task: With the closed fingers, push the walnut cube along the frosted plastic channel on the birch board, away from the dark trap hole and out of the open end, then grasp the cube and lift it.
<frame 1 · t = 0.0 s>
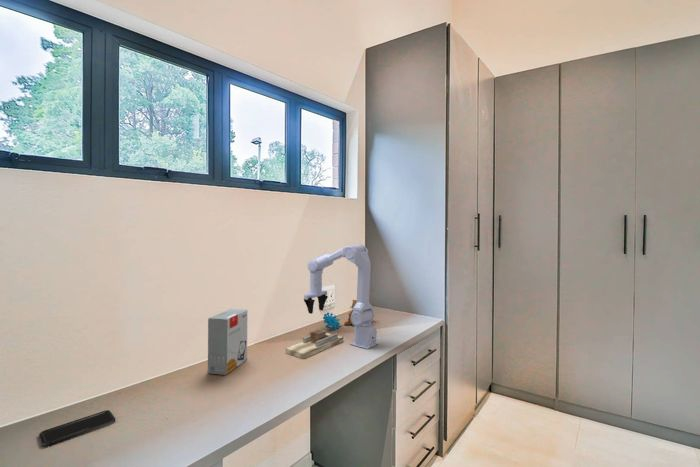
hand: (315, 311, 172), 10 cm above the table, tool pointing down, fingers open, 7 cm apart
walnut cube: (317, 341, 152), point 2 cm above the table, touching channel board
gear: (332, 328, 179), on the table
phone: (78, 430, 91), on the table
channel board: (316, 346, 152), on the table
stuffed squirrel: (357, 324, 186), on the table
hard drive box: (228, 366, 131), on the table
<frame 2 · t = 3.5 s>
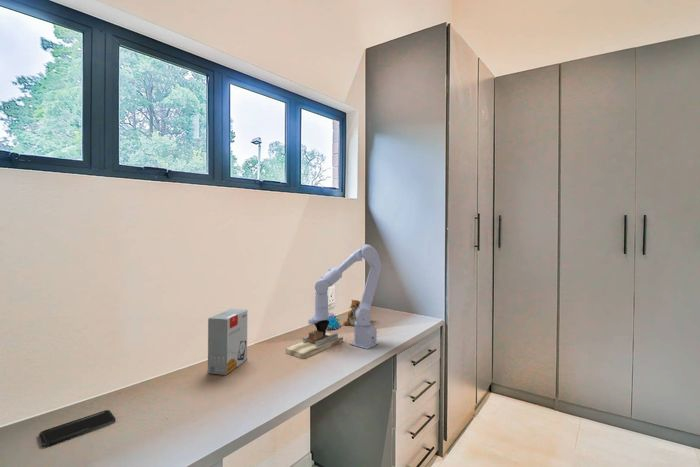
hand: (321, 337, 154), 3 cm above the table, tool pointing down, fingers closed
walnut cube: (315, 342, 152), point 2 cm above the table, touching gripper
everything else where it was.
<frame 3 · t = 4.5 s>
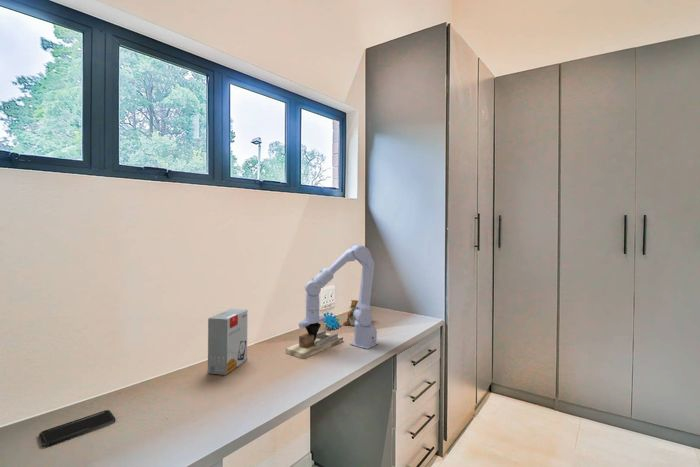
hand: (312, 340, 150), 3 cm above the table, tool pointing down, fingers closed
walnut cube: (306, 346, 147), point 2 cm above the table, touching channel board, gripper
everything else where it was.
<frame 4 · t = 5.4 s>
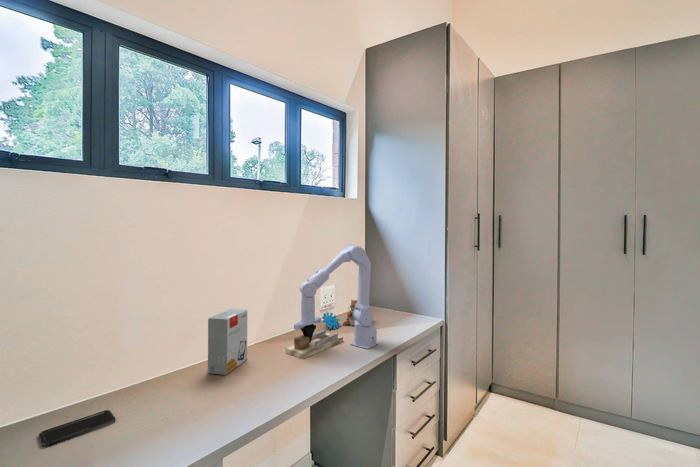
hand: (308, 342, 148), 3 cm above the table, tool pointing down, fingers closed
walnut cube: (301, 347, 145), point 2 cm above the table, touching channel board, gripper
everything else where it was.
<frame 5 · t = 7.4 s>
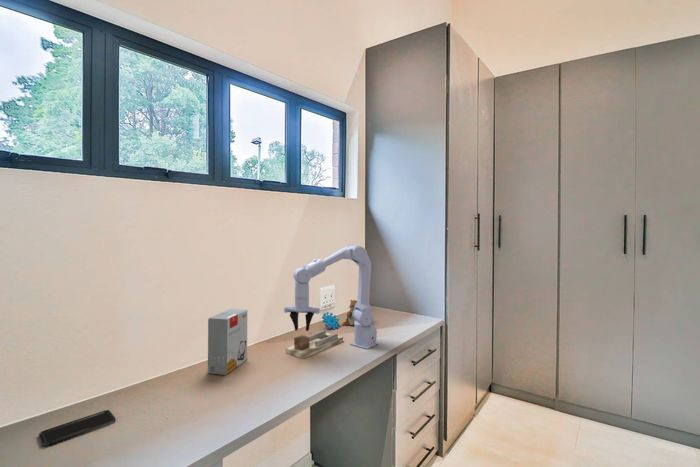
hand: (302, 330, 145), 9 cm above the table, tool pointing down, fingers open, 4 cm apart
walnut cube: (301, 347, 145), point 2 cm above the table, touching channel board
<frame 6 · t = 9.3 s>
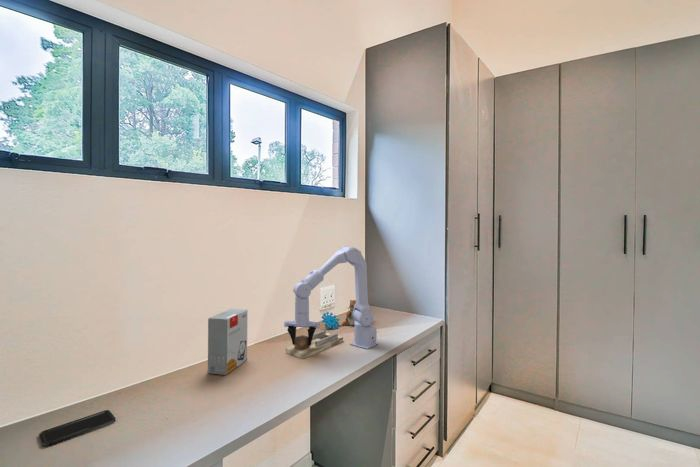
hand: (302, 344, 145), 3 cm above the table, tool pointing down, fingers closed on walnut cube, 6 cm apart
walnut cube: (301, 347, 145), point 2 cm above the table, touching channel board, gripper
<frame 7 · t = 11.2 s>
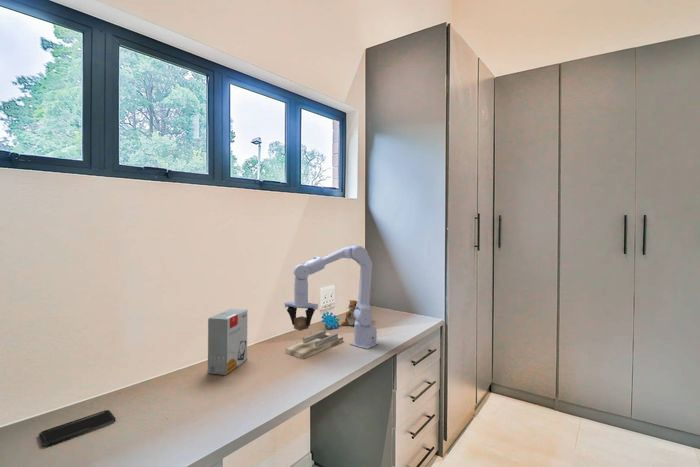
hand: (301, 325, 148), 10 cm above the table, tool pointing down, fingers closed on walnut cube, 6 cm apart
walnut cube: (301, 328, 148), point 9 cm above the table, touching gripper
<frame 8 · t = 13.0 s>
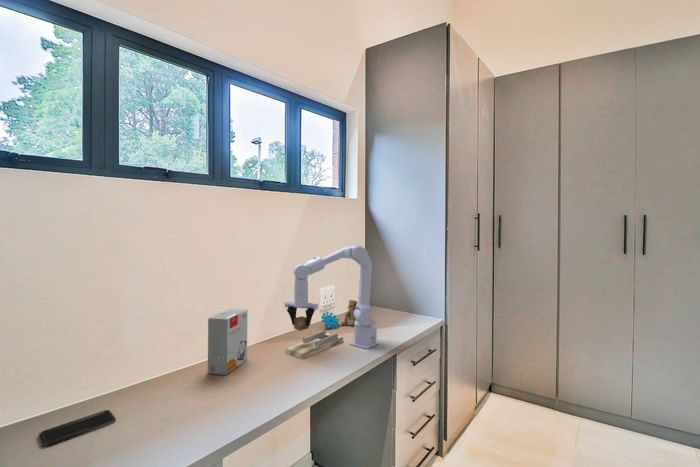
hand: (301, 325, 148), 10 cm above the table, tool pointing down, fingers closed on walnut cube, 6 cm apart
walnut cube: (301, 328, 148), point 9 cm above the table, touching gripper
at the end: the gripper is holding walnut cube; walnut cube point 9.0 cm above the table; walnut cube inside the target area (1.9 cm from its centre), point 9.0 cm above the table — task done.
